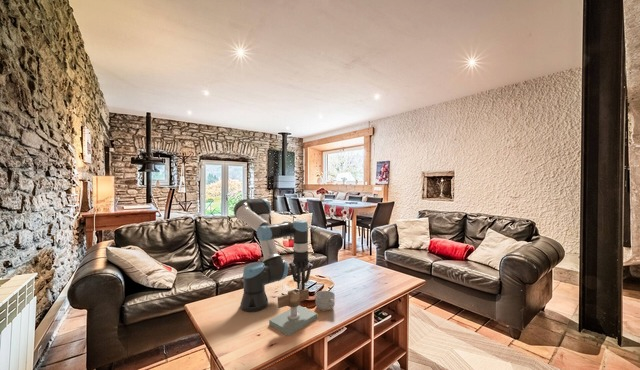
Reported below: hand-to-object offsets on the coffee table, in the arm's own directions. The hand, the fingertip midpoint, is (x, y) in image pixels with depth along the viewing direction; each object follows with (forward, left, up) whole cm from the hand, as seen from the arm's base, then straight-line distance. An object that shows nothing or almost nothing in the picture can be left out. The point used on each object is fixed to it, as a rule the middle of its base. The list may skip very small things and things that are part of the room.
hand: (301, 295), depth 137 cm
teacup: (+6, +14, -11) cm, 18 cm away
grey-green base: (+1, -6, -11) cm, 13 cm away
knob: (+1, -6, -2) cm, 7 cm away
